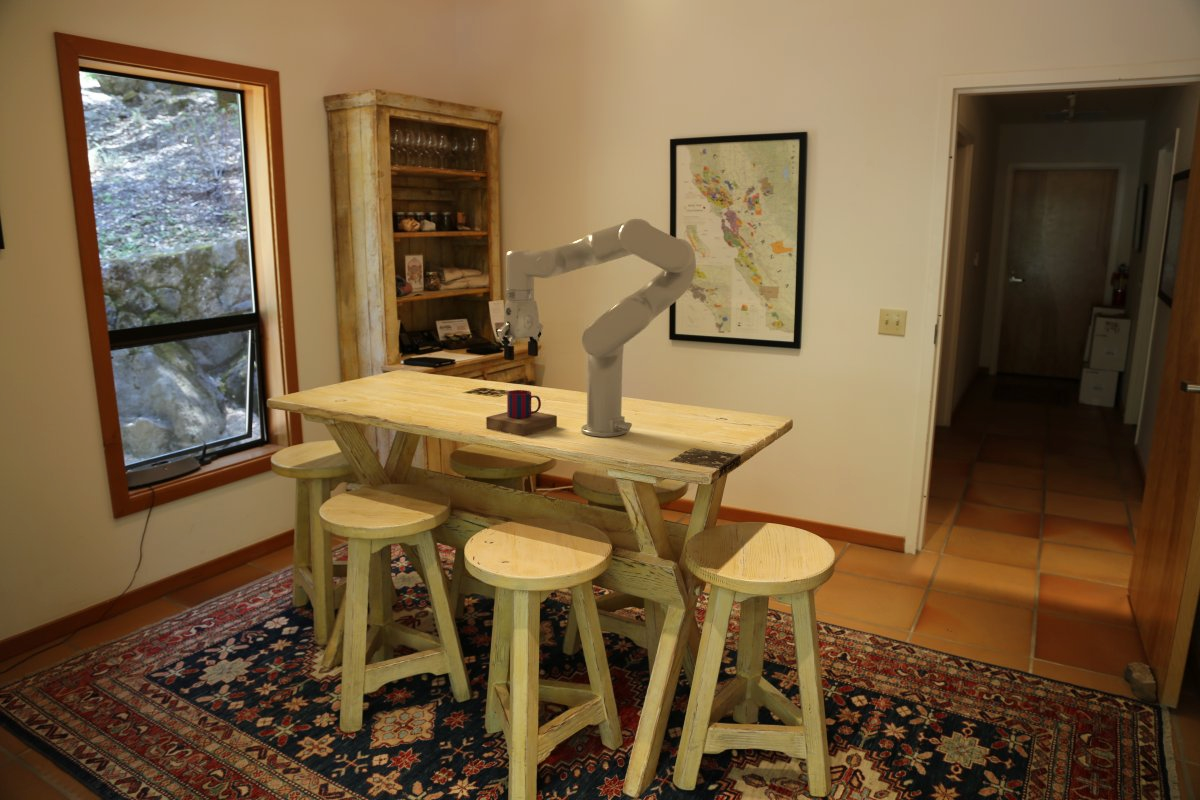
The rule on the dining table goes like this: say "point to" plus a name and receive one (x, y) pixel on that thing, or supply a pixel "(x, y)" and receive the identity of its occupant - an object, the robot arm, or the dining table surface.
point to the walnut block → (521, 423)
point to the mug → (520, 404)
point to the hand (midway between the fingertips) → (521, 357)
